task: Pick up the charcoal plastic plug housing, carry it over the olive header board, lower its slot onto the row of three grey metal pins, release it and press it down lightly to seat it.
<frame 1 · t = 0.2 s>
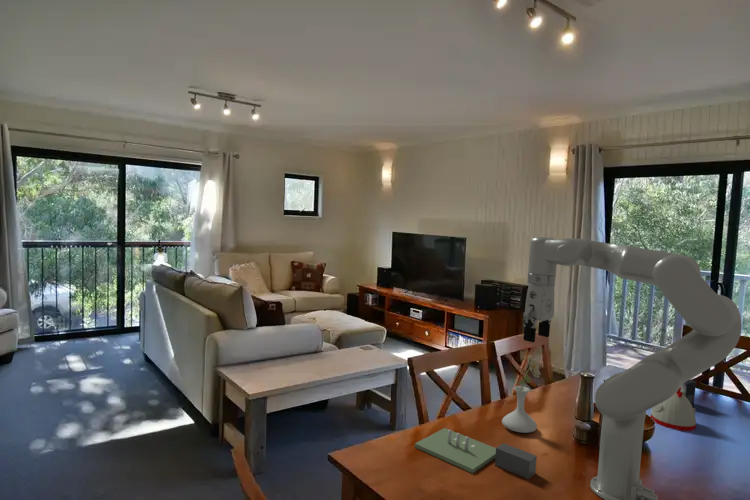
hand: (536, 338, 137), 36 cm above the table, tool pointing down, fingers open, 9 cm apart
plug housing: (514, 469, 133), on the table
flower in vase: (520, 428, 160), on the table
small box: (676, 403, 191), on the table
kitchen timer: (672, 423, 172), on the table
header board: (457, 450, 142), on the table
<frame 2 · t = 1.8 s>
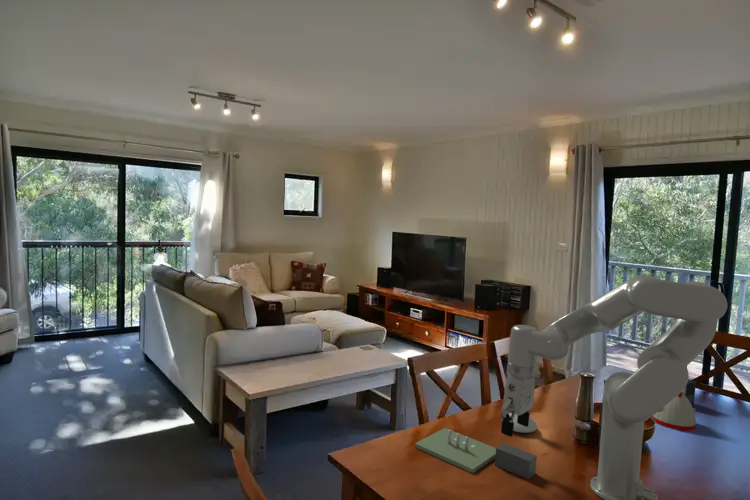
hand: (514, 429, 132), 11 cm above the table, tool pointing down, fingers open, 9 cm apart
nothing on the table moved.
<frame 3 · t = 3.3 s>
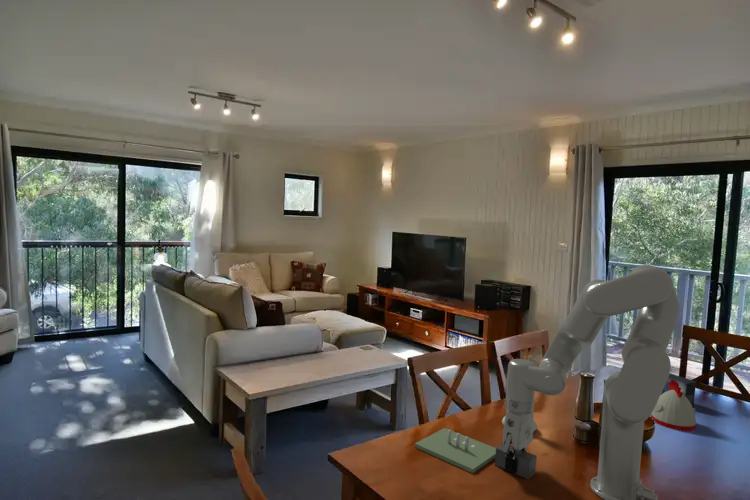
hand: (514, 467, 133), 1 cm above the table, tool pointing down, fingers closed on plug housing, 4 cm apart
plug housing: (514, 469, 133), on the table, touching gripper
everything else where it was.
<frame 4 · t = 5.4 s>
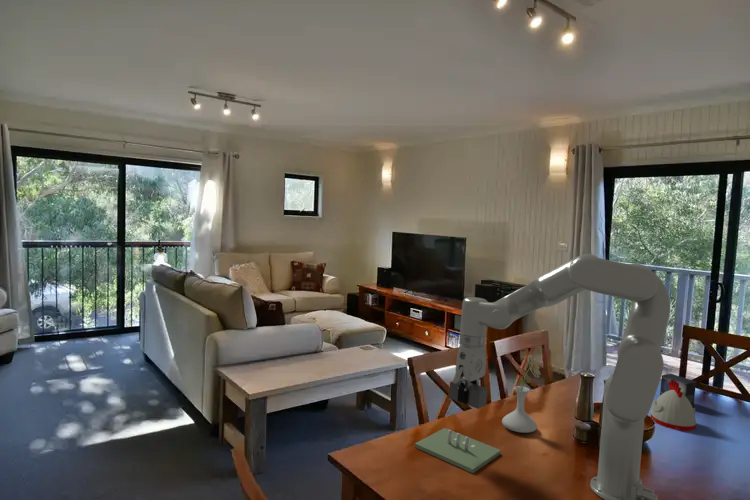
hand: (467, 399, 140), 16 cm above the table, tool pointing down, fingers closed on plug housing, 4 cm apart
plug housing: (467, 401, 140), point 16 cm above the table, touching gripper
everything else where it was.
when the fingers open (3 cm above the table, at t = 7.6 s): plug housing drops 1 cm, resting on header board.
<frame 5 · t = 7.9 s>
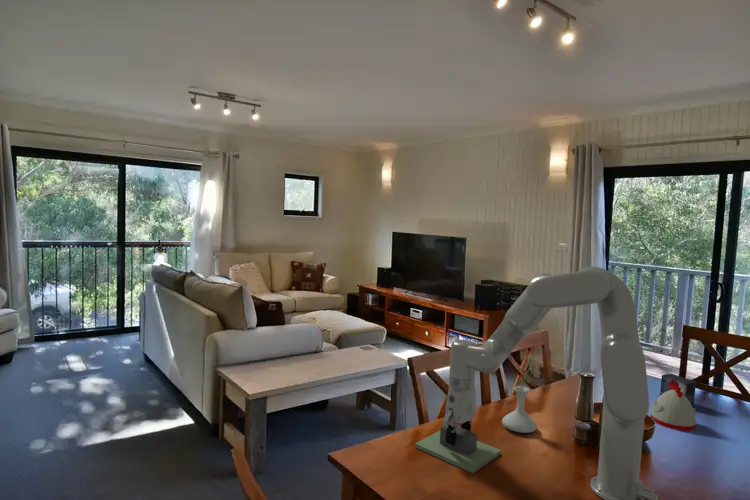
hand: (458, 439, 142), 3 cm above the table, tool pointing down, fingers open, 7 cm apart
plug housing: (457, 446, 142), point 1 cm above the table, touching header board
everything else where it was.
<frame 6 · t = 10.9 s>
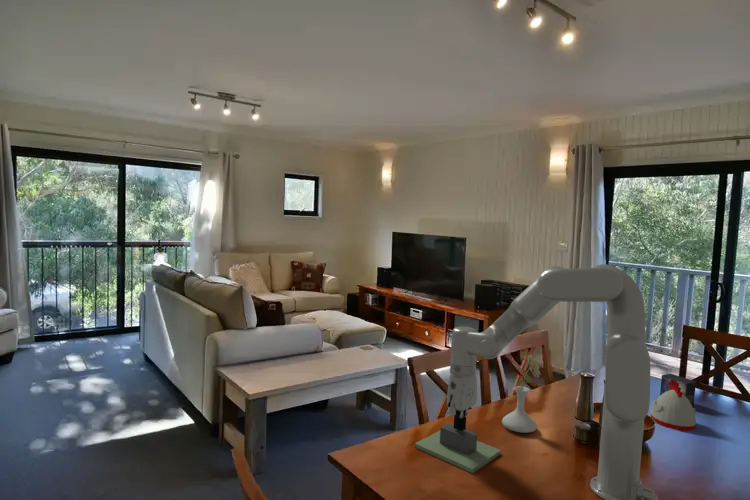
hand: (459, 429, 141), 7 cm above the table, tool pointing down, fingers closed
nothing on the table moved.
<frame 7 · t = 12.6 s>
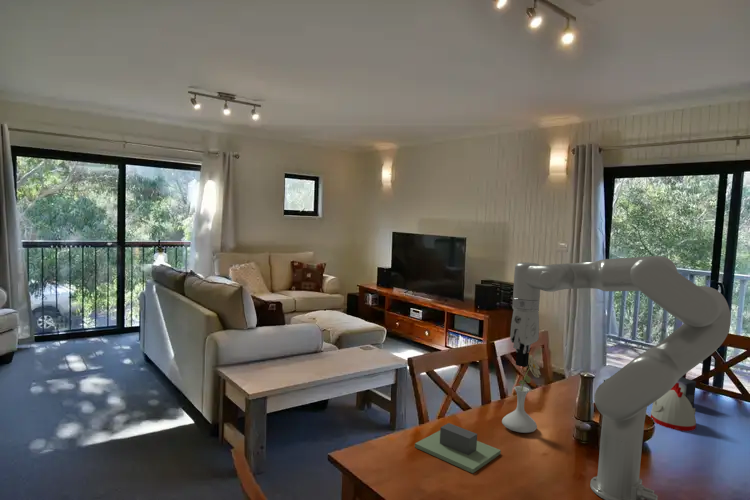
hand: (521, 365, 140), 27 cm above the table, tool pointing down, fingers closed
nothing on the table moved.
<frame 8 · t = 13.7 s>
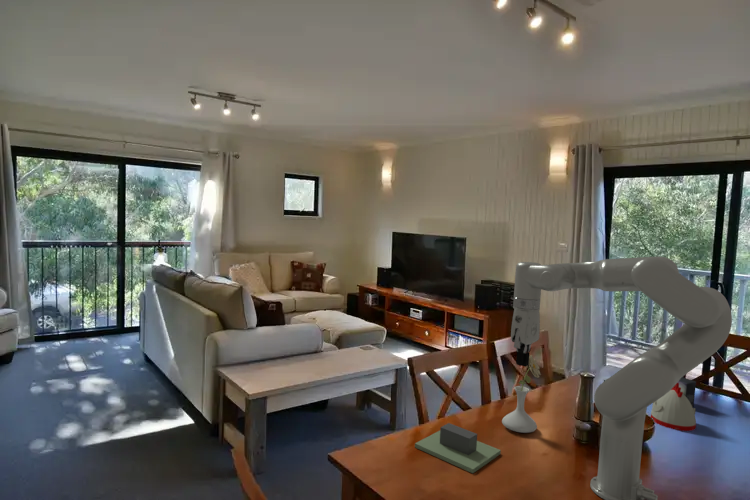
hand: (522, 364, 140), 27 cm above the table, tool pointing down, fingers closed
nothing on the table moved.
at the end: plug housing 0.0 cm off-centre on the header board, point 1.2 cm above the header board's base; plug housing tilted 0°; the gripper is holding nothing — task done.
